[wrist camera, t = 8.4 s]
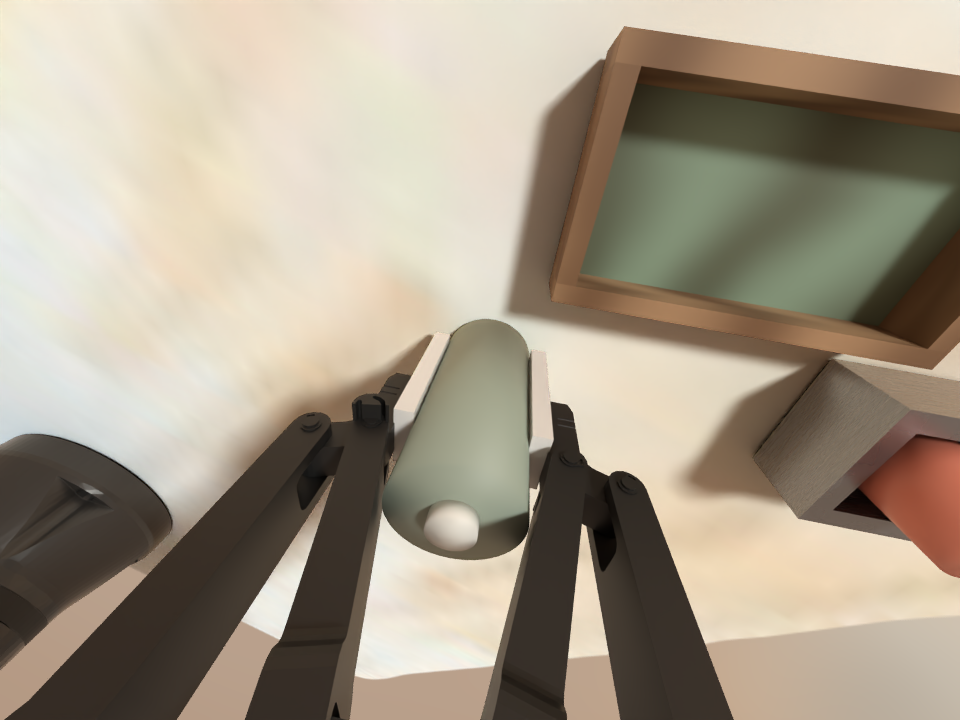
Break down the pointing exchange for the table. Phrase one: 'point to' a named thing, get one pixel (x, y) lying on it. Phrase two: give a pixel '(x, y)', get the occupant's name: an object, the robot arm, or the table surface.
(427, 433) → the cell
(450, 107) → the table surface
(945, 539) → the coral capsule
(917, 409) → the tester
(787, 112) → the wooden tray
